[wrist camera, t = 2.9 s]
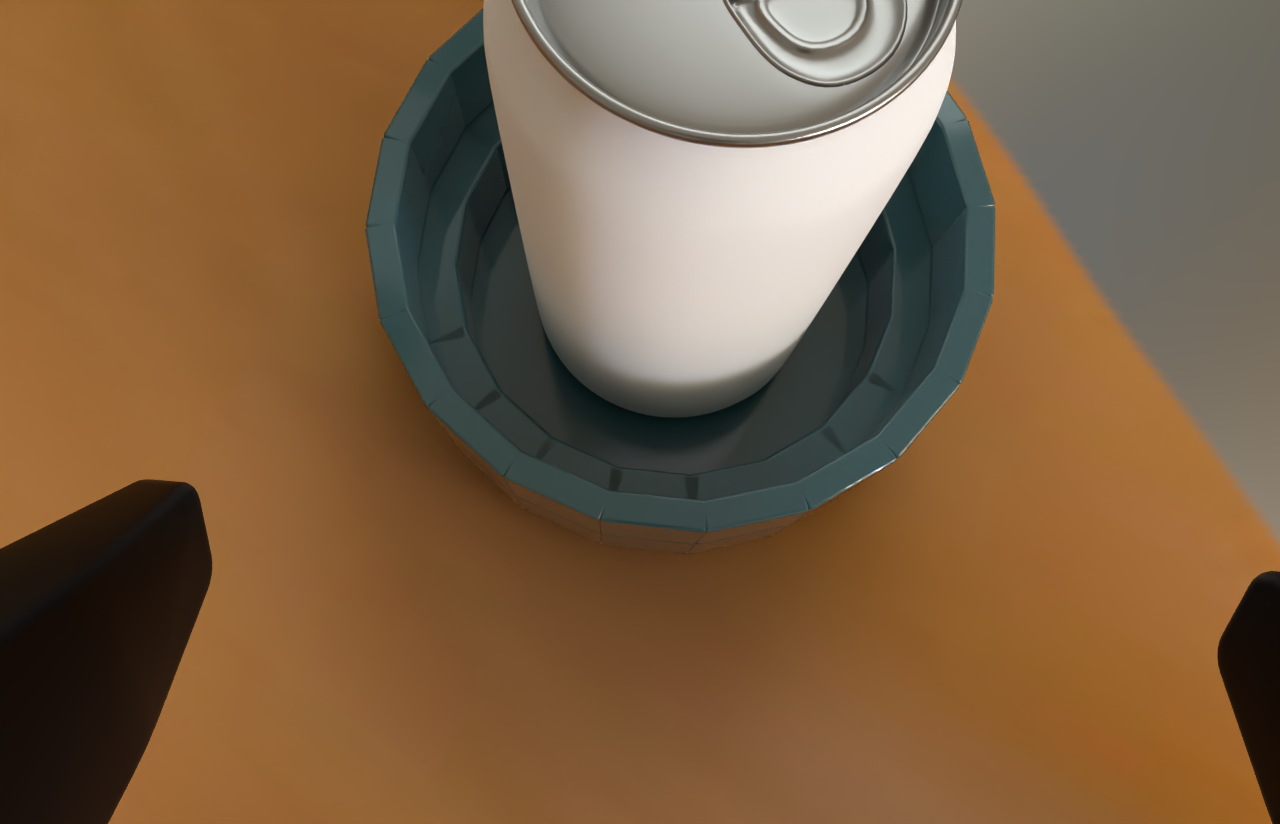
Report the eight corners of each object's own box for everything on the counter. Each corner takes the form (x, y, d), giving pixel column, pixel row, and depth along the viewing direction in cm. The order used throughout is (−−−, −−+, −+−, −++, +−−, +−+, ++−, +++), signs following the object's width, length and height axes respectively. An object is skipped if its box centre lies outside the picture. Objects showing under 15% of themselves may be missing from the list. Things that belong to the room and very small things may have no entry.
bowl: (571, 654, 21) (560, 657, 17) (328, 207, 23) (262, 104, 19) (1020, 390, 23) (1119, 329, 18) (753, -1, 25) (783, -139, 21)
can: (703, 477, 22) (812, 289, 10) (481, 319, 23) (346, -27, 11) (854, 267, 23) (1105, -112, 11) (641, 124, 24) (672, -369, 12)
